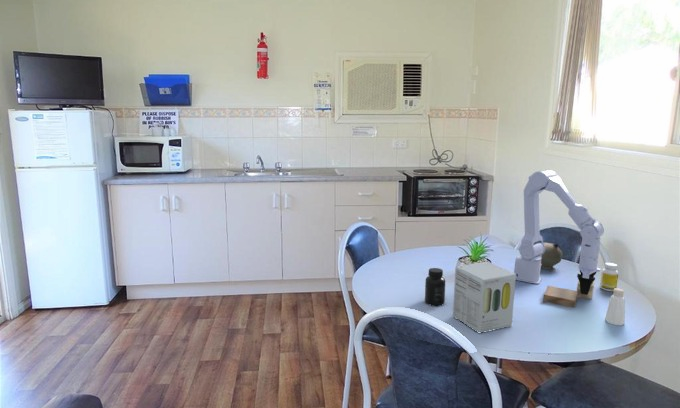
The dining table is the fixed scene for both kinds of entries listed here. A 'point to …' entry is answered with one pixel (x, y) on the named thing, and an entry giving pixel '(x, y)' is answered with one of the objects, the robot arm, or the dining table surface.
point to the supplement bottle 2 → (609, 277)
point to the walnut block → (560, 296)
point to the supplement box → (484, 296)
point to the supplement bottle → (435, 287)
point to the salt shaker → (616, 308)
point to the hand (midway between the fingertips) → (584, 291)
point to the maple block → (588, 292)
